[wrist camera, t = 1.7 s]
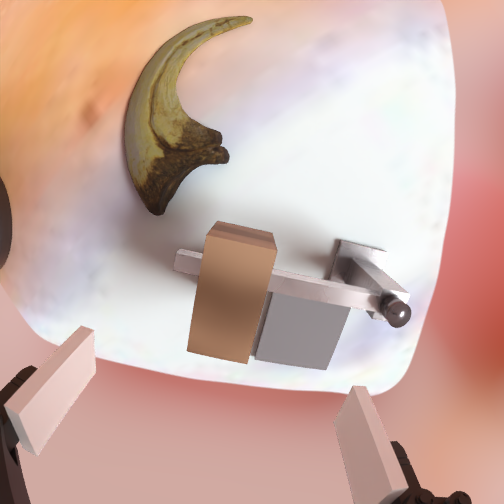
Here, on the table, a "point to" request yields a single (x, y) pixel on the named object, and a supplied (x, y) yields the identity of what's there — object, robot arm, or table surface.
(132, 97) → the claw
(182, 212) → the table surface
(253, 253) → the tan brick
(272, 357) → the mat
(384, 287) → the grey lever handle
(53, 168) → the table surface
